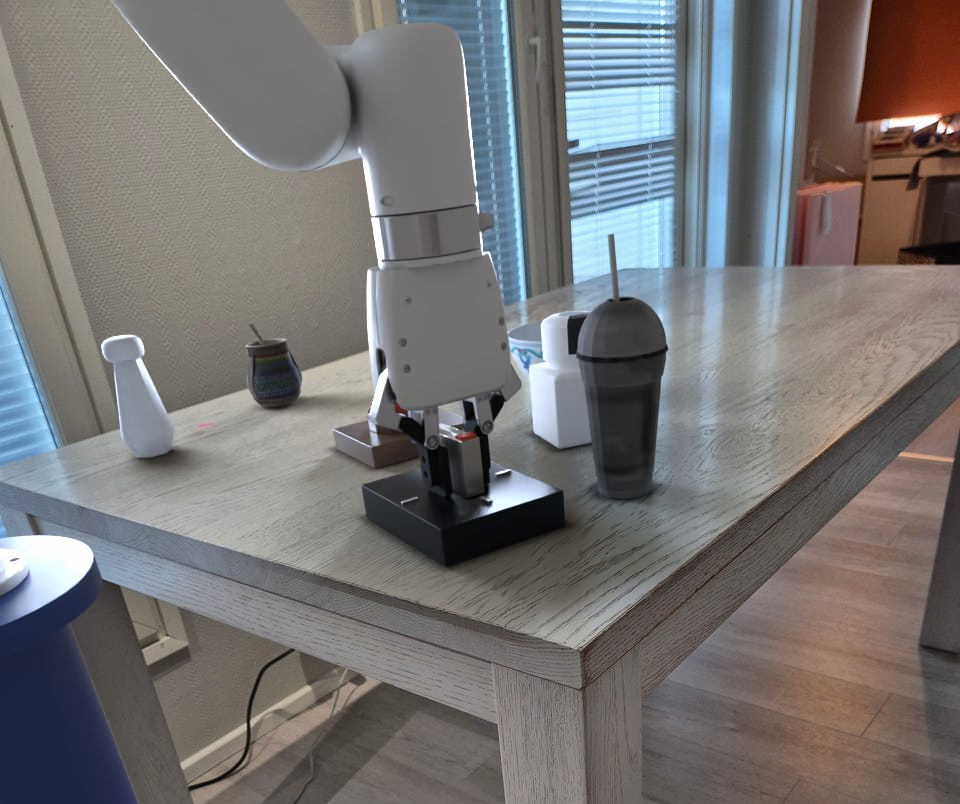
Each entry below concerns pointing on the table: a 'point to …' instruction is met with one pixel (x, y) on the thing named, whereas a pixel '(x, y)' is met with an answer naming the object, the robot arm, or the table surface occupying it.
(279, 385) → the mate gourd
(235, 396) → the table surface
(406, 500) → the panel
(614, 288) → the beverage cup
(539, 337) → the chinaware
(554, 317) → the medicine bottle
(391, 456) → the button box
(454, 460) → the brushed metal brick
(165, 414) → the salt shaker
